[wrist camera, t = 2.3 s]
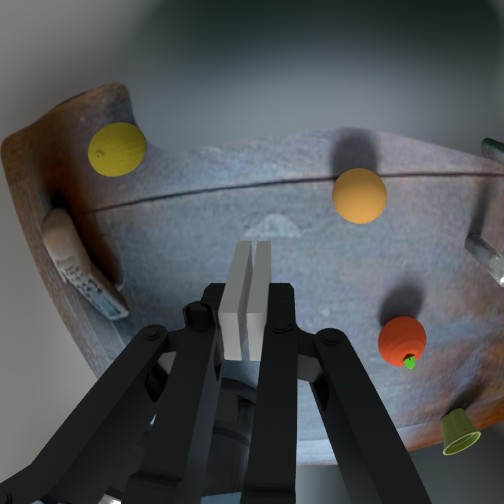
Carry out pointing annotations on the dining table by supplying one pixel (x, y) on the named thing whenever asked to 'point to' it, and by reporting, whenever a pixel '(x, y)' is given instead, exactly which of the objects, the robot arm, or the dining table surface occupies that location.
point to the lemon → (116, 149)
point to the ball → (359, 195)
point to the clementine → (402, 341)
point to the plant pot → (458, 431)
